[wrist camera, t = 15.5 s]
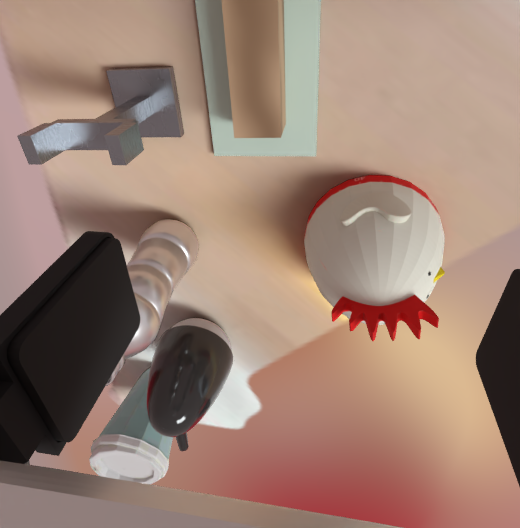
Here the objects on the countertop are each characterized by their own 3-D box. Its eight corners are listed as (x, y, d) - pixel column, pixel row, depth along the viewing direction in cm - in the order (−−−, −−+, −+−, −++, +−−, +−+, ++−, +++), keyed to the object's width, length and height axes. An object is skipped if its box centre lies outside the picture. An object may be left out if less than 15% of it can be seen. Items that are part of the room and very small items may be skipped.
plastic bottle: (138, 227, 46) (31, 358, 30) (180, 202, 43) (86, 331, 27) (173, 267, 49) (93, 406, 33) (215, 245, 46) (149, 386, 30)
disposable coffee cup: (191, 359, 59) (153, 456, 47) (201, 403, 65) (170, 498, 53) (125, 353, 60) (73, 445, 48) (141, 396, 66) (98, 487, 54)
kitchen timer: (433, 284, 44) (470, 396, 32) (312, 288, 47) (303, 392, 35) (445, 167, 36) (498, 257, 24) (299, 181, 40) (282, 267, 28)
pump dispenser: (182, 360, 59) (142, 458, 47) (157, 308, 53) (104, 404, 41) (246, 358, 56) (222, 461, 44) (227, 303, 51) (192, 404, 39)
